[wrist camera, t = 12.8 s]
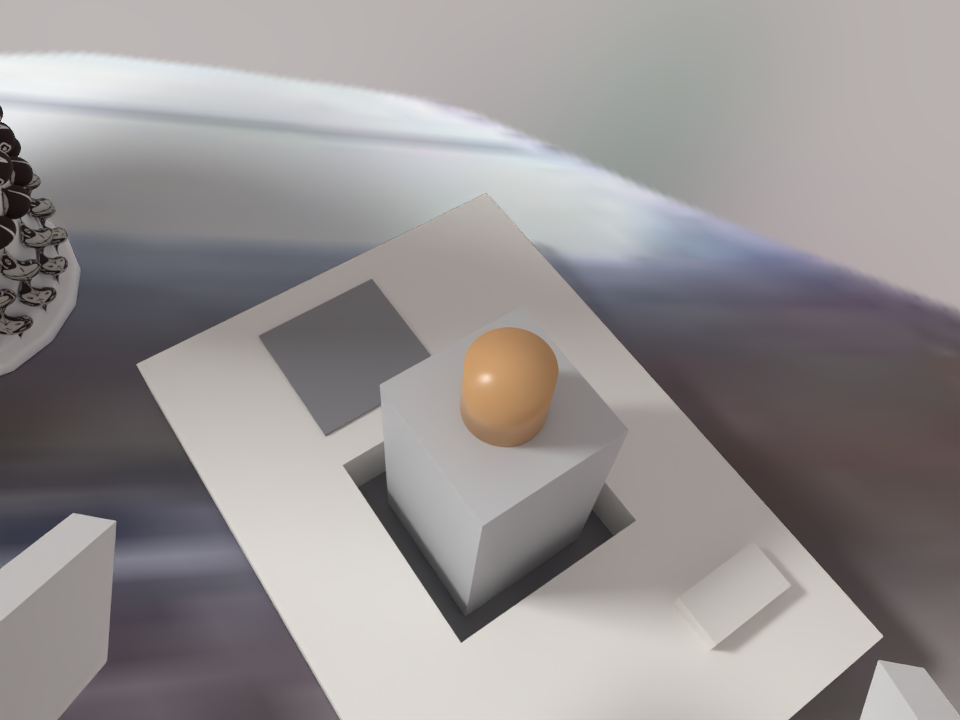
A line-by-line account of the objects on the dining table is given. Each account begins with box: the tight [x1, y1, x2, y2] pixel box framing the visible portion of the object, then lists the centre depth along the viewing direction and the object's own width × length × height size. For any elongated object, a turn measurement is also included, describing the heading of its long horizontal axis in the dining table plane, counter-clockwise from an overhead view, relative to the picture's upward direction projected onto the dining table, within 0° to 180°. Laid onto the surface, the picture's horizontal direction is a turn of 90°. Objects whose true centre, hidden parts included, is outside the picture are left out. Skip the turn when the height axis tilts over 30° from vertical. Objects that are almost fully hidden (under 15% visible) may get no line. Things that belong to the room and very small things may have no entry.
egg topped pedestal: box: [380, 306, 629, 617], centre depth 24 cm, size 4×4×10 cm
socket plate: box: [136, 193, 884, 720], centre depth 27 cm, size 20×14×3 cm
